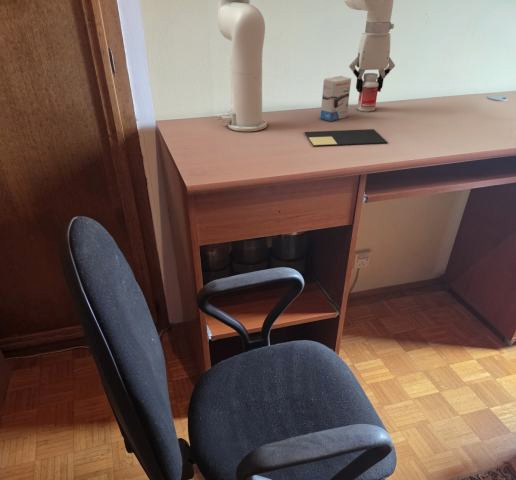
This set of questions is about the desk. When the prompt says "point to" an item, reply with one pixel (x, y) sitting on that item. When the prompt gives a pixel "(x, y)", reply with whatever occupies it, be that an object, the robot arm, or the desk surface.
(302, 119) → the desk surface
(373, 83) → the pill bottle
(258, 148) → the desk surface
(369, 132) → the desk mat
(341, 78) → the ink box
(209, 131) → the desk surface
